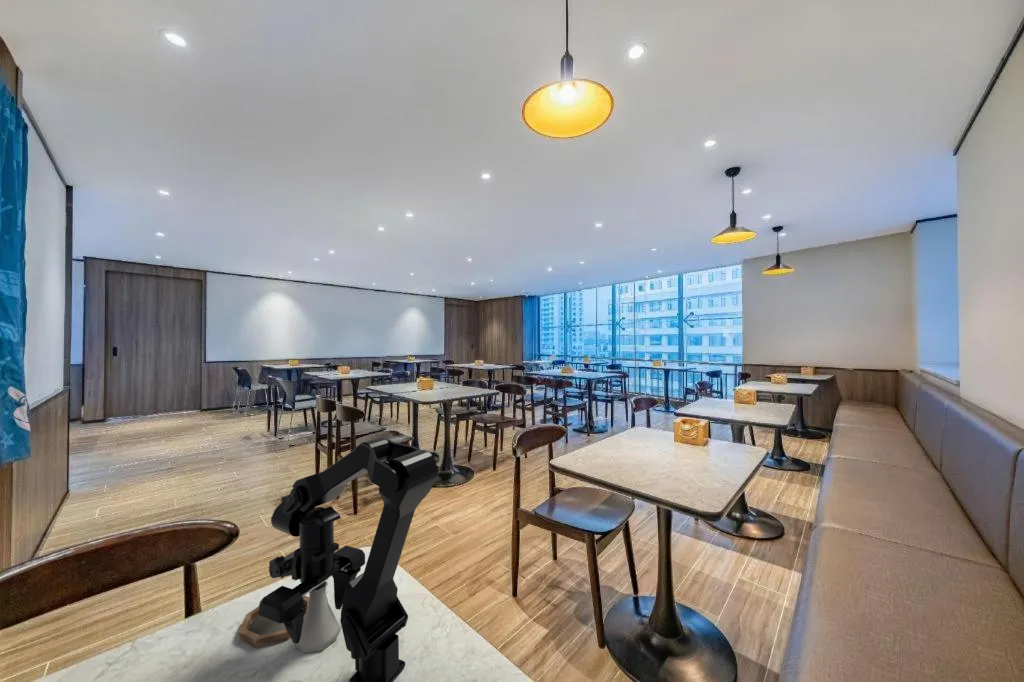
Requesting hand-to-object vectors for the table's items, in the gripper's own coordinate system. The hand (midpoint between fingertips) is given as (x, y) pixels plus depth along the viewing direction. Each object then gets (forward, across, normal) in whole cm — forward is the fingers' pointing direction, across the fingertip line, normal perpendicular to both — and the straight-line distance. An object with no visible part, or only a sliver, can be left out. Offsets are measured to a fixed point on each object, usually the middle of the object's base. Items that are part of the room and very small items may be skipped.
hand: (318, 624), depth 72 cm
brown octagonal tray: (+2, 0, -11) cm, 11 cm away
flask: (+3, 0, 0) cm, 3 cm away
